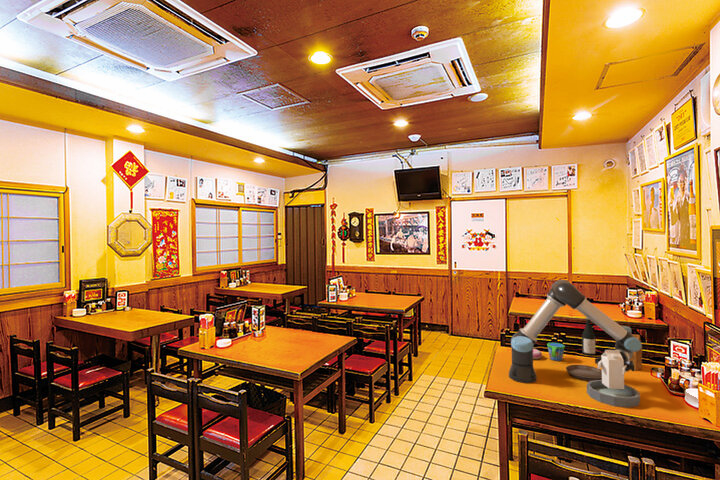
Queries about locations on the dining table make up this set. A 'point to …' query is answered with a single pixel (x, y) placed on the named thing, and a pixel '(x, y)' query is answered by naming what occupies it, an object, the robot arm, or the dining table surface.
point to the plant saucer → (584, 372)
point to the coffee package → (637, 356)
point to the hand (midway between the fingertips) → (610, 368)
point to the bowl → (613, 394)
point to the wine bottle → (588, 339)
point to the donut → (536, 354)
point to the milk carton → (612, 369)
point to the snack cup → (556, 351)
